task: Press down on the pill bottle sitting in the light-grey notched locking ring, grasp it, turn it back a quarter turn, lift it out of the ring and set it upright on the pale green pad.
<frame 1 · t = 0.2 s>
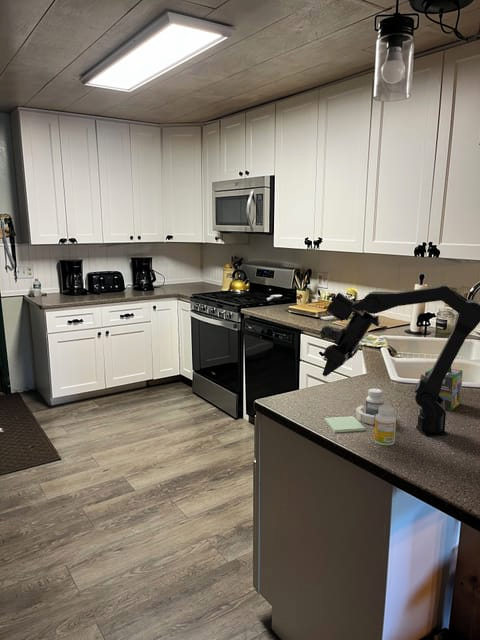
hand: (328, 372, 145), 14 cm above the counter, tool tilted 30°, fingers open, 9 cm apart
pad: (344, 425, 141), on the counter
locking ring: (374, 418, 146), on the counter
supplement bottle: (384, 442, 130), on the counter
chalk box: (441, 404, 158), on the counter
pill bottle: (374, 418, 146), on the counter
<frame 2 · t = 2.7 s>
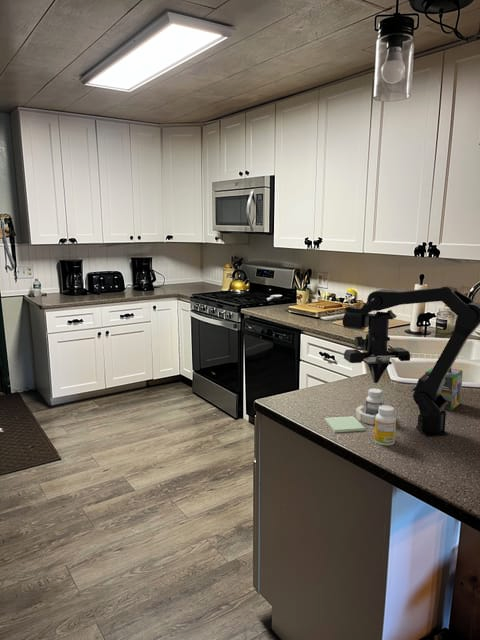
hand: (375, 382, 144), 11 cm above the counter, tool pointing down, fingers closed
nothing on the counter moved.
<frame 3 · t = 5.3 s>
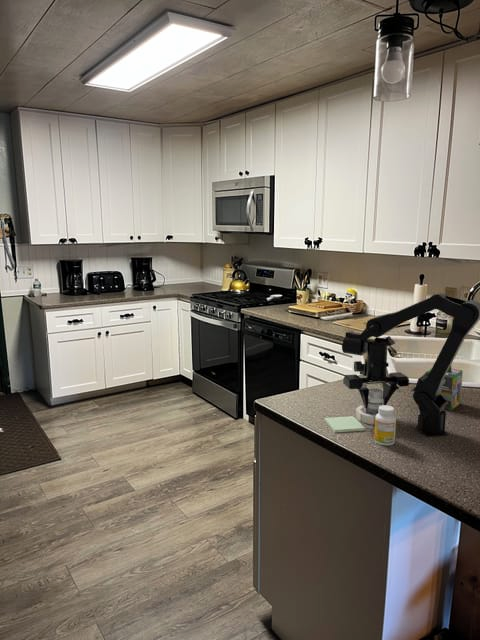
hand: (374, 407, 146), 3 cm above the counter, tool pointing down, fingers closed on pill bottle, 5 cm apart
pill bottle: (374, 418, 146), on the counter, touching gripper
everything else where it was.
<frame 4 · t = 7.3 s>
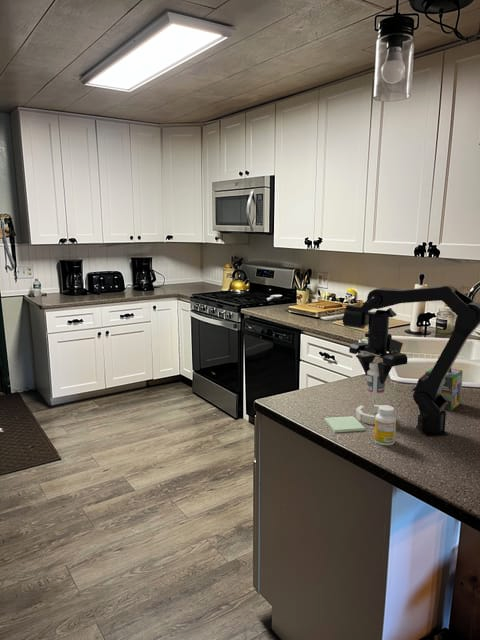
hand: (375, 381, 144), 12 cm above the counter, tool pointing down, fingers closed on pill bottle, 5 cm apart
pill bottle: (375, 392, 145), point 8 cm above the counter, touching gripper
everything else where it was.
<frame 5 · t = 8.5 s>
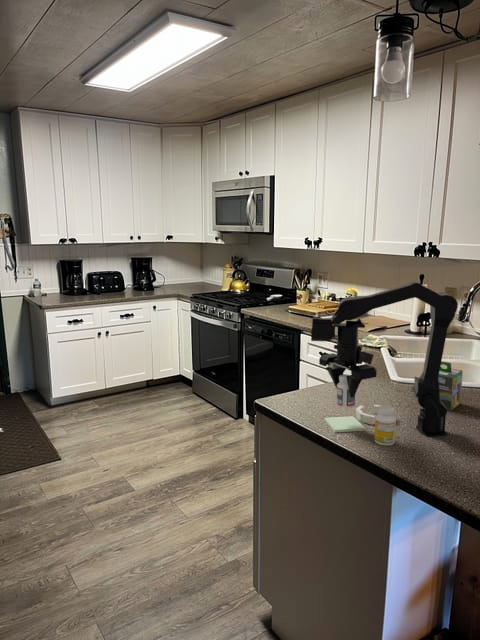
hand: (345, 394, 139), 10 cm above the counter, tool pointing down, fingers closed on pill bottle, 5 cm apart
pill bottle: (345, 406, 140), point 6 cm above the counter, touching gripper
everything else where it was.
when the fingers open (5 cm above the counter, at t = 9.6 s): pill bottle drops 1 cm, resting on pad.
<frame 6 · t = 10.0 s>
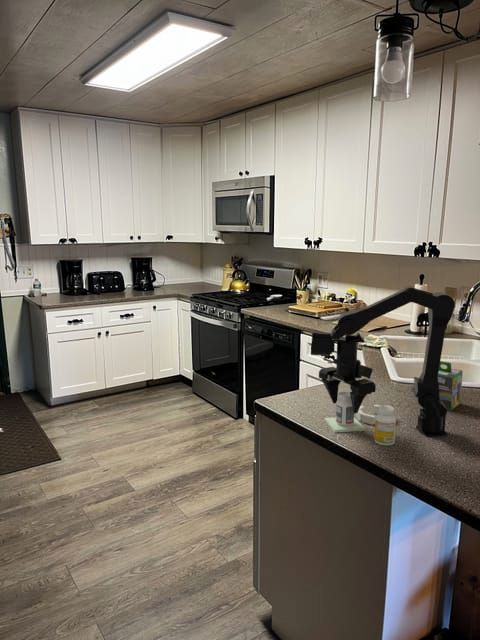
hand: (344, 408, 140), 5 cm above the counter, tool pointing down, fingers open, 9 cm apart
pill bottle: (344, 423, 141), point 1 cm above the counter, touching pad
everything else where it was.
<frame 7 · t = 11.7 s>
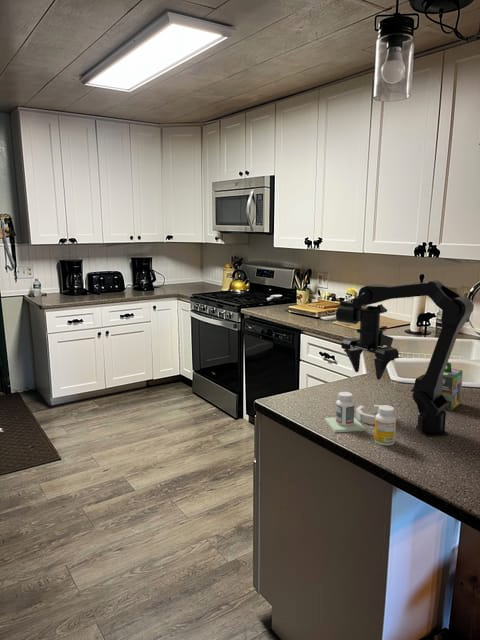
hand: (367, 375, 148), 12 cm above the counter, tool pointing down, fingers open, 9 cm apart
nothing on the counter moved.
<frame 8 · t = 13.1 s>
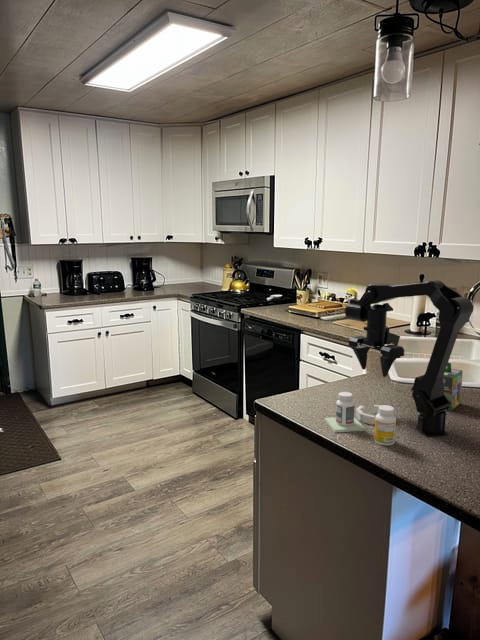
hand: (374, 372, 150), 12 cm above the counter, tool pointing down, fingers open, 9 cm apart
nothing on the counter moved.
at the end: pill bottle 0.1 cm from the pad (horizontally); pill bottle tilted 0°; pill bottle touching pad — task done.
